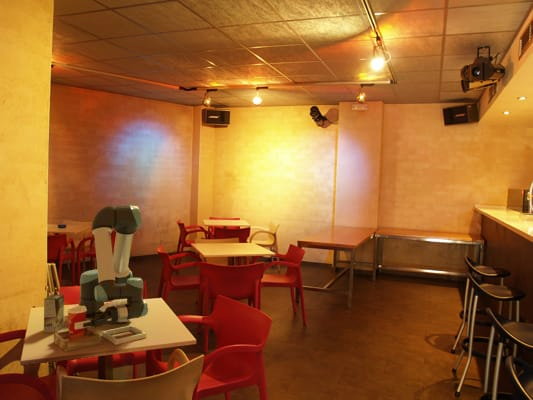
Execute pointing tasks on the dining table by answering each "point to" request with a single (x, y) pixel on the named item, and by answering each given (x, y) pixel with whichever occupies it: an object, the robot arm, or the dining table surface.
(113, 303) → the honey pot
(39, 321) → the dining table surface
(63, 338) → the tray
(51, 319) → the coffee box
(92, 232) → the robot arm
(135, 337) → the tray
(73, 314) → the coffee cup
